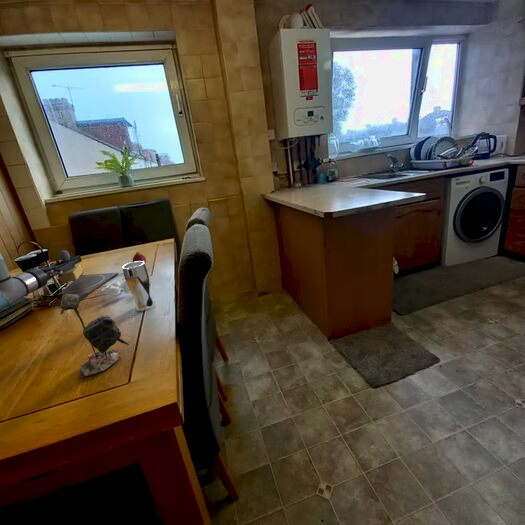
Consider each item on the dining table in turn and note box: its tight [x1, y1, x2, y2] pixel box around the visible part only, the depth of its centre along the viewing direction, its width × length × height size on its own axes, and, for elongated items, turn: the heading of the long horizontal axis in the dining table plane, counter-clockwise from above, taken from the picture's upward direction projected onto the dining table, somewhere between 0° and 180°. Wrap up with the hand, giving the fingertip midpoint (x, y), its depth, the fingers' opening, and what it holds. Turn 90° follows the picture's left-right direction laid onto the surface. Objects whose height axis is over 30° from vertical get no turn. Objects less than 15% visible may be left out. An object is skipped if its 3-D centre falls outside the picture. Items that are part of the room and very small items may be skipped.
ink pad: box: [60, 292, 88, 302], centre depth 104 cm, size 7×5×2 cm
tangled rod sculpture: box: [100, 277, 132, 297], centre depth 110 cm, size 19×14×4 cm
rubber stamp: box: [57, 249, 84, 284], centre depth 115 cm, size 10×6×12 cm, turn 18°
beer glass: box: [121, 261, 156, 312], centre depth 90 cm, size 7×7×15 cm
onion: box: [132, 251, 147, 265], centre depth 129 cm, size 6×6×8 cm
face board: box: [57, 272, 119, 297], centre depth 118 cm, size 20×20×1 cm
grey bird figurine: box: [59, 294, 130, 378], centre depth 63 cm, size 8×11×20 cm
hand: (76, 258), depth 120 cm, fingers closed on rubber stamp, 2 cm apart
